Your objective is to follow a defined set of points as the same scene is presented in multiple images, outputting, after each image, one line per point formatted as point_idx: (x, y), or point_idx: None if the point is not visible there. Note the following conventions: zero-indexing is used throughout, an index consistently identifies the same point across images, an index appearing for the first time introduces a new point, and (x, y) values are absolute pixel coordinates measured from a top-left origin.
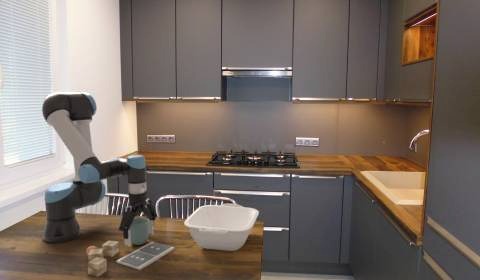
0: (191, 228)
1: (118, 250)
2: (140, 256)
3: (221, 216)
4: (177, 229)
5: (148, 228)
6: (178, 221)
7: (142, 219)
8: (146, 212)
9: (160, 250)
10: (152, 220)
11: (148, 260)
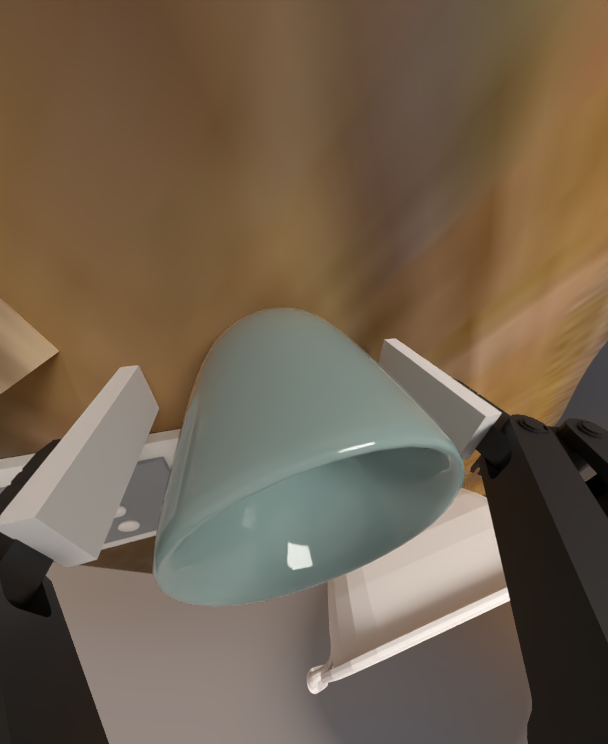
0: (334, 649)
1: (42, 360)
2: (139, 504)
3: None
4: (487, 374)
5: (408, 372)
6: (597, 305)
7: (432, 478)
8: (528, 676)
9: None
10: (464, 458)
11: (154, 528)
